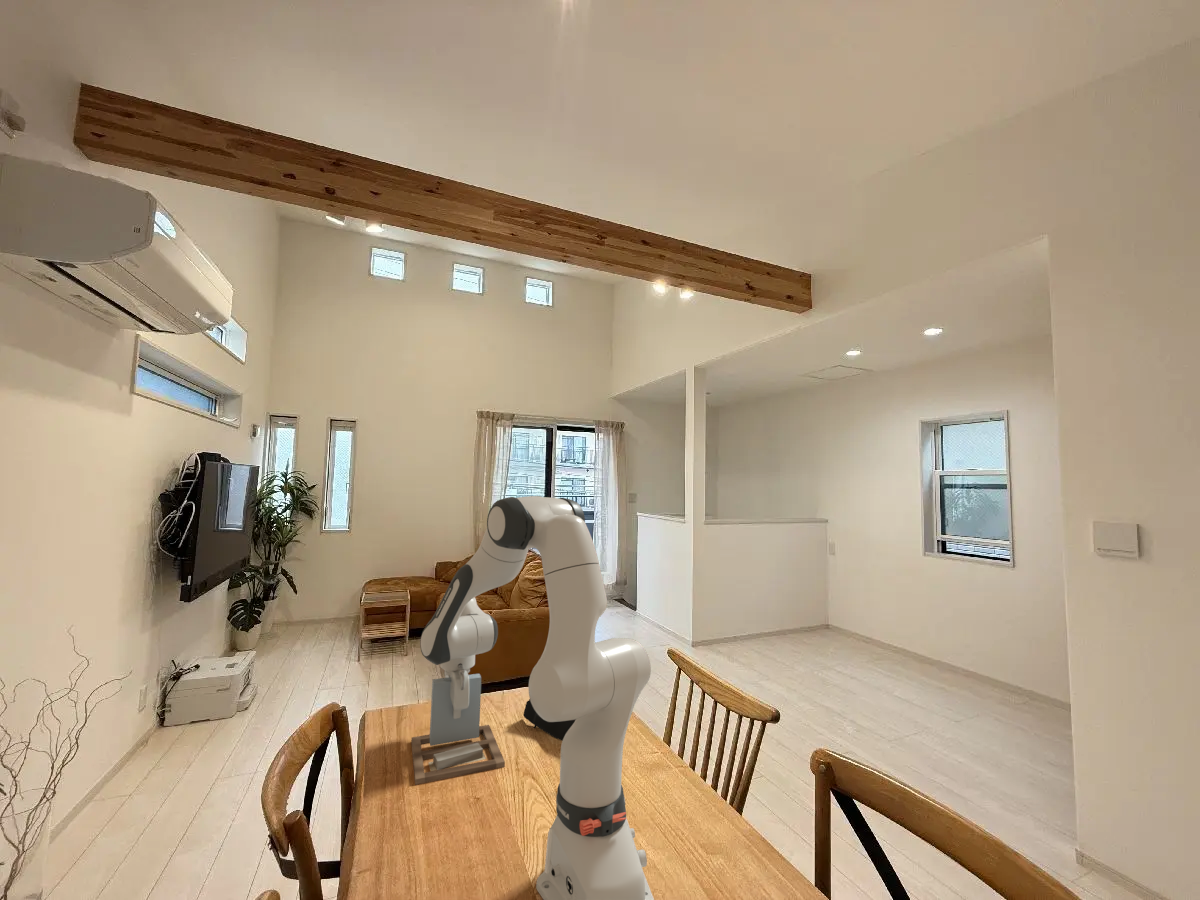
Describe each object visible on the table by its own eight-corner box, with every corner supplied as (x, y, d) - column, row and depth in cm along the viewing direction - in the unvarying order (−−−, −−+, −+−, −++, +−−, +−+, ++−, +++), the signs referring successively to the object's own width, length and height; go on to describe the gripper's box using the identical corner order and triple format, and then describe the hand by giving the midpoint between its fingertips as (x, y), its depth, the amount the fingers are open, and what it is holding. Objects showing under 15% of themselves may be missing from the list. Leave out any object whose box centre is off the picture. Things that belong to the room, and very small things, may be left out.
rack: (504, 772, 116) (504, 761, 116) (414, 791, 108) (415, 779, 108) (488, 734, 134) (489, 724, 134) (411, 747, 126) (411, 737, 126)
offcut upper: (482, 757, 120) (482, 749, 120) (437, 770, 114) (437, 761, 114) (477, 751, 123) (477, 742, 123) (433, 763, 117) (433, 754, 117)
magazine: (626, 721, 124) (543, 662, 141) (620, 726, 122) (535, 665, 139) (609, 782, 126) (528, 716, 143) (602, 788, 123) (520, 720, 140)
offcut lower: (485, 767, 119) (486, 758, 119) (430, 780, 113) (430, 771, 113) (481, 759, 123) (482, 750, 123) (427, 771, 117) (428, 762, 117)
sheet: (479, 737, 127) (481, 677, 128) (430, 745, 122) (433, 683, 123) (477, 732, 129) (479, 673, 131) (429, 740, 125) (432, 679, 126)
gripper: (476, 670, 119) (474, 729, 118) (464, 646, 138) (462, 697, 137) (450, 673, 117) (447, 733, 115) (441, 648, 135) (439, 700, 134)
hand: (455, 713), depth 126 cm, fingers closed on sheet, 3 cm apart
